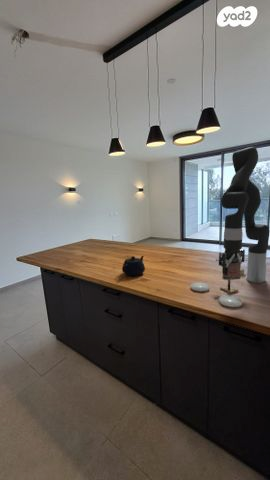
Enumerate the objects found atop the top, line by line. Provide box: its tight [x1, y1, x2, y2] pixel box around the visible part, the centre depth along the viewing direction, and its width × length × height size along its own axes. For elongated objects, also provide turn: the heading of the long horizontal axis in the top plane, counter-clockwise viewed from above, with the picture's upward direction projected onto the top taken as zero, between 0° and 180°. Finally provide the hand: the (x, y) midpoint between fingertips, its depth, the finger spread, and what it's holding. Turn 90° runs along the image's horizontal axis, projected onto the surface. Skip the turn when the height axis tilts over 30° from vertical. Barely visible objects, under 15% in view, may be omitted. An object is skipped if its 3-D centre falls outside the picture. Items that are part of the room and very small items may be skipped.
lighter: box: [221, 258, 242, 281], centre depth 97 cm, size 8×3×10 cm, turn 91°
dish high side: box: [190, 282, 210, 292], centre depth 117 cm, size 10×10×2 cm
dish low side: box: [218, 294, 243, 308], centre depth 99 cm, size 10×10×2 cm
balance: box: [215, 258, 247, 295], centre depth 112 cm, size 5×18×16 cm, turn 27°
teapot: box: [121, 255, 146, 277], centre depth 146 cm, size 25×16×12 cm, turn 145°
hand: (231, 273), depth 97 cm, fingers closed on lighter, 7 cm apart
